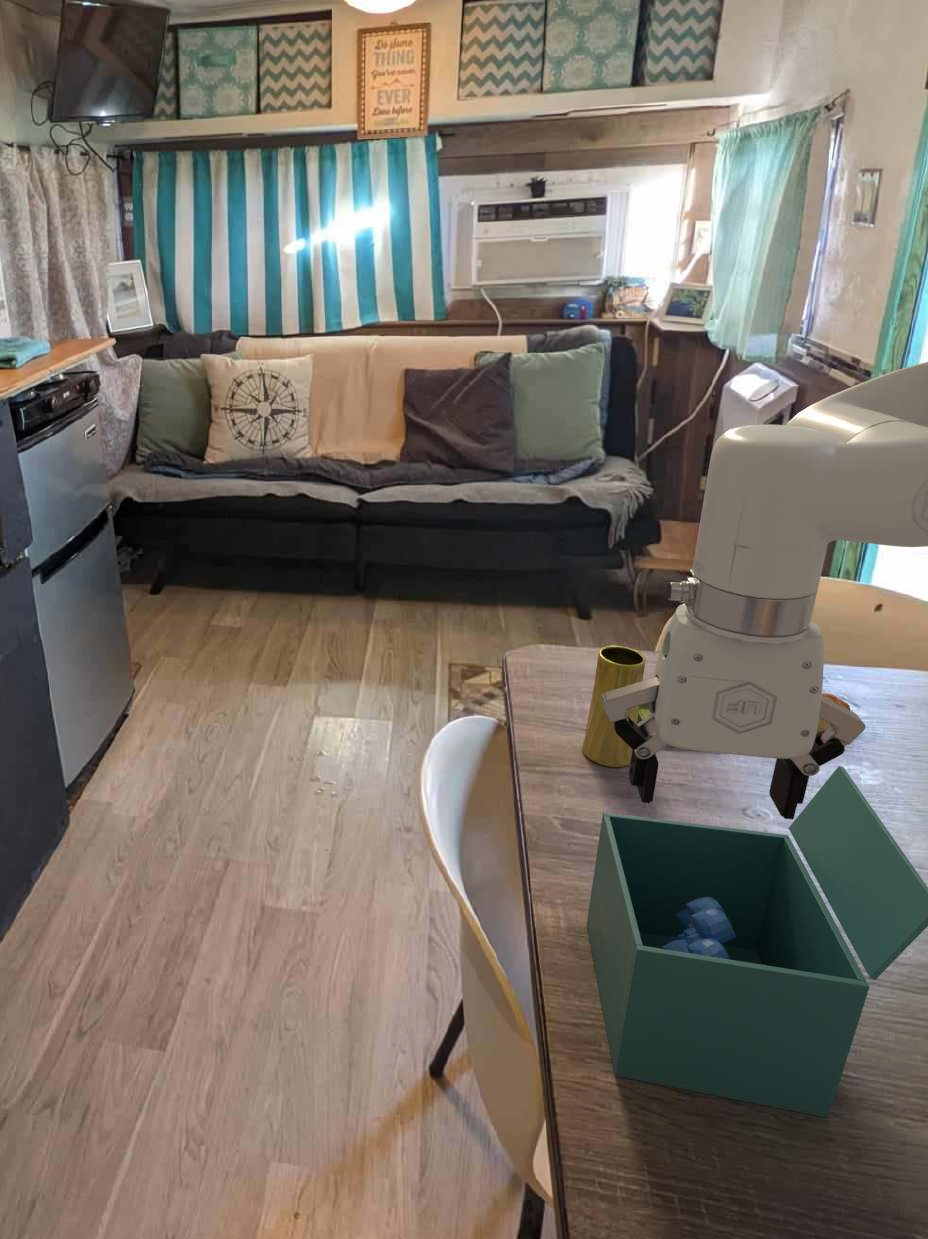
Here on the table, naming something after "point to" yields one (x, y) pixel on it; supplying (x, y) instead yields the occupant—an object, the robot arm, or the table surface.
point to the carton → (721, 966)
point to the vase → (600, 736)
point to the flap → (862, 873)
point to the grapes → (702, 930)
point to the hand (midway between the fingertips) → (710, 799)
